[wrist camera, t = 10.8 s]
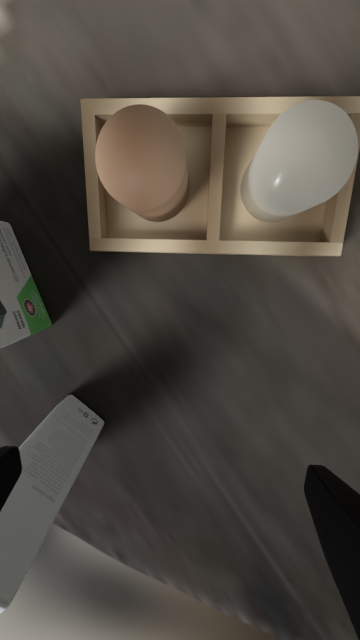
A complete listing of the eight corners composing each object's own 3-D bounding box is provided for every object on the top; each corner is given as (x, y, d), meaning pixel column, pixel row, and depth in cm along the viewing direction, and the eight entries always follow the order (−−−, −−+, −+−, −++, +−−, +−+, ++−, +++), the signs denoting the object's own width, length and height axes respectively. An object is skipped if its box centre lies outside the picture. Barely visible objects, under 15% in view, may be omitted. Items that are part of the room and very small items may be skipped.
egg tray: (347, 116, 15) (368, 96, 14) (324, 256, 18) (340, 256, 16) (93, 117, 16) (80, 98, 14) (101, 251, 18) (89, 250, 16)
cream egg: (313, 149, 16) (367, 99, 11) (302, 223, 17) (347, 208, 12) (243, 149, 16) (265, 99, 11) (237, 221, 17) (255, 206, 12)
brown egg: (192, 151, 16) (189, 106, 11) (186, 224, 17) (182, 211, 12) (125, 148, 16) (94, 102, 11) (124, 220, 17) (96, 206, 12)
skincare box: (69, 390, 21) (-82, 550, 10) (109, 422, 22) (11, 609, 10) (31, 433, 23) (-143, 619, 11) (69, 461, 23) (-58, 668, 12)
